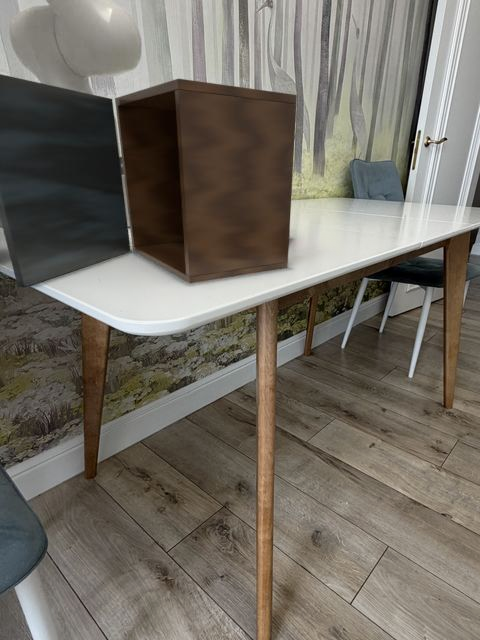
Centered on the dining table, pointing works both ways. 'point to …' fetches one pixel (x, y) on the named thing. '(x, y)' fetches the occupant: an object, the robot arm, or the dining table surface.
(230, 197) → the cupboard
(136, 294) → the dining table surface
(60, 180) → the door
